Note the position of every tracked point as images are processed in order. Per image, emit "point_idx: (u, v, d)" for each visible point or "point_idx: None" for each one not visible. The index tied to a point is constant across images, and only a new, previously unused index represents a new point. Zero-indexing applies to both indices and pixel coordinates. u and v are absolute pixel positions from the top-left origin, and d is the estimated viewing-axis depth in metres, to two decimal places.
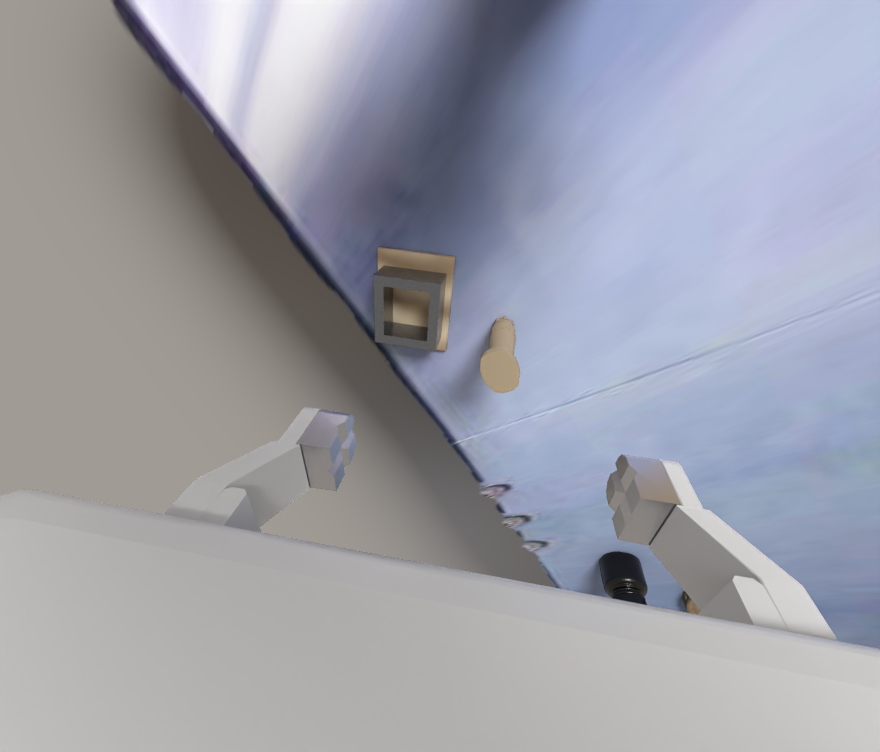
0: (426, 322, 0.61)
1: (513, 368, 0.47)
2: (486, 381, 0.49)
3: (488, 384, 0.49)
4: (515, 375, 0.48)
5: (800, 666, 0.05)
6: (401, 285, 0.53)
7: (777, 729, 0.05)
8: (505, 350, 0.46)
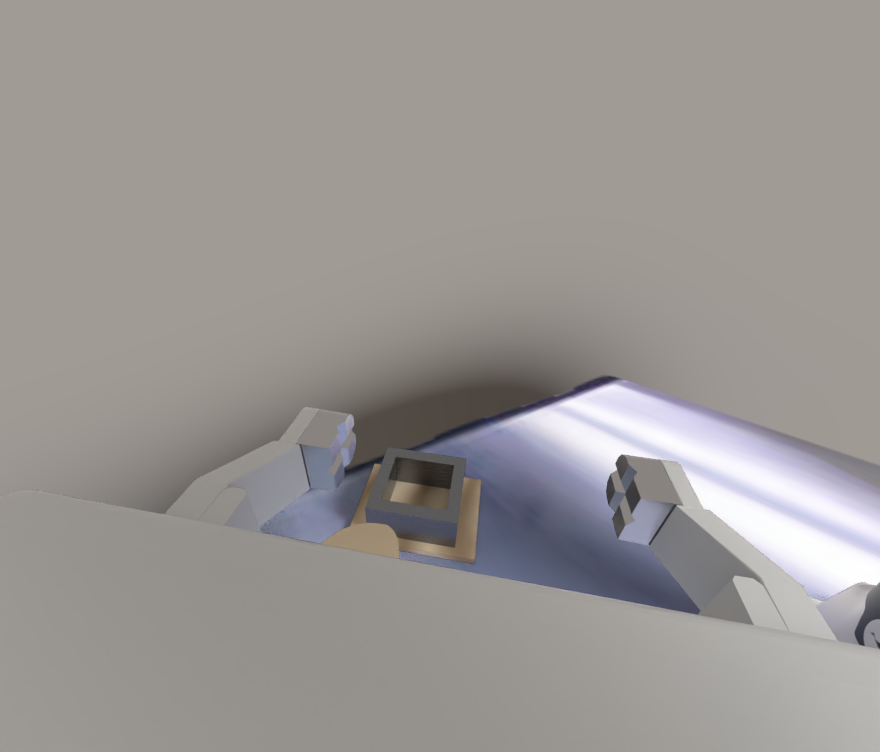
0: None
1: None
2: (344, 531, 0.31)
3: (338, 533, 0.30)
4: None
5: (800, 666, 0.05)
6: (455, 482, 0.47)
7: (777, 729, 0.05)
8: None
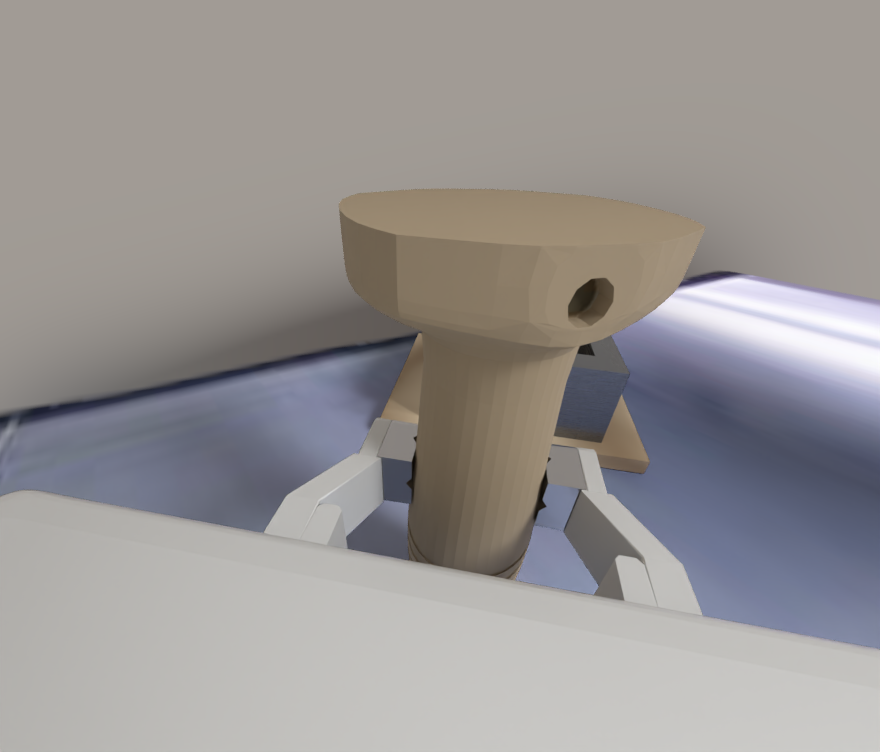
0: None
1: (582, 233, 0.05)
2: (440, 190, 0.08)
3: (418, 191, 0.08)
4: (518, 236, 0.05)
5: (800, 666, 0.05)
6: None
7: (777, 729, 0.05)
8: (692, 253, 0.06)
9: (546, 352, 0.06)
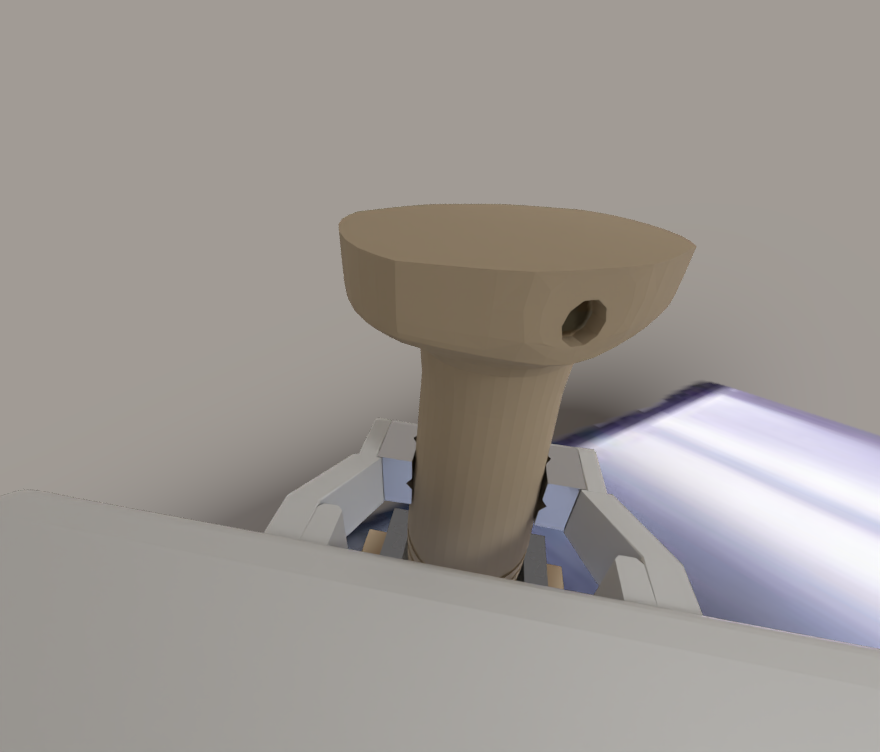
0: None
1: (575, 256, 0.05)
2: (438, 206, 0.08)
3: (416, 207, 0.08)
4: (512, 260, 0.05)
5: (800, 666, 0.05)
6: None
7: (777, 729, 0.05)
8: (683, 271, 0.07)
9: (541, 368, 0.07)
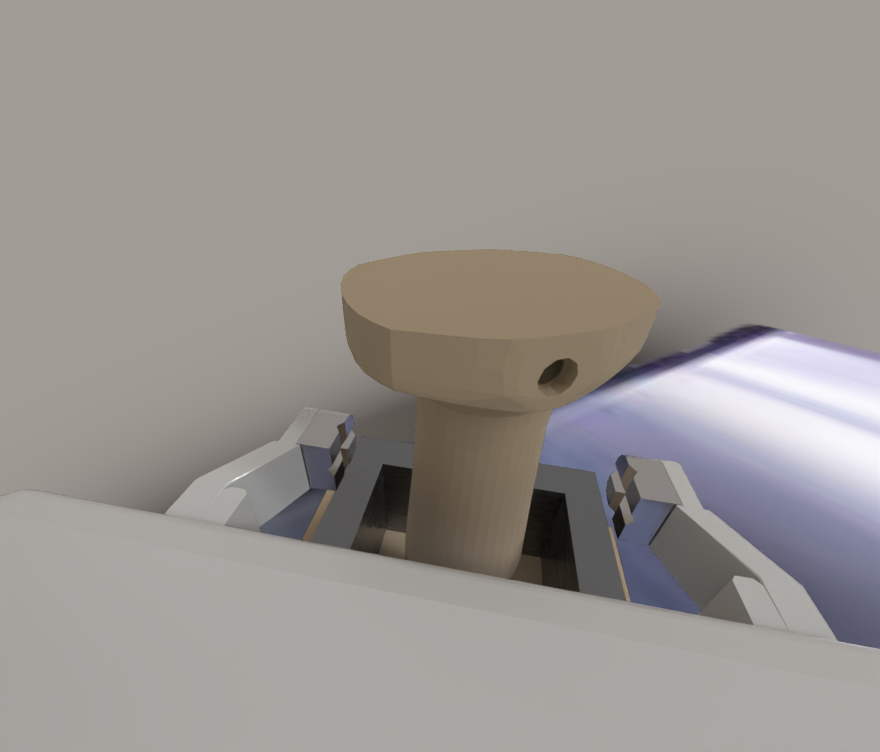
0: None
1: (549, 318, 0.06)
2: (431, 254, 0.09)
3: (411, 257, 0.09)
4: (494, 325, 0.06)
5: (800, 666, 0.05)
6: (588, 556, 0.13)
7: (777, 729, 0.05)
8: (651, 322, 0.07)
9: None
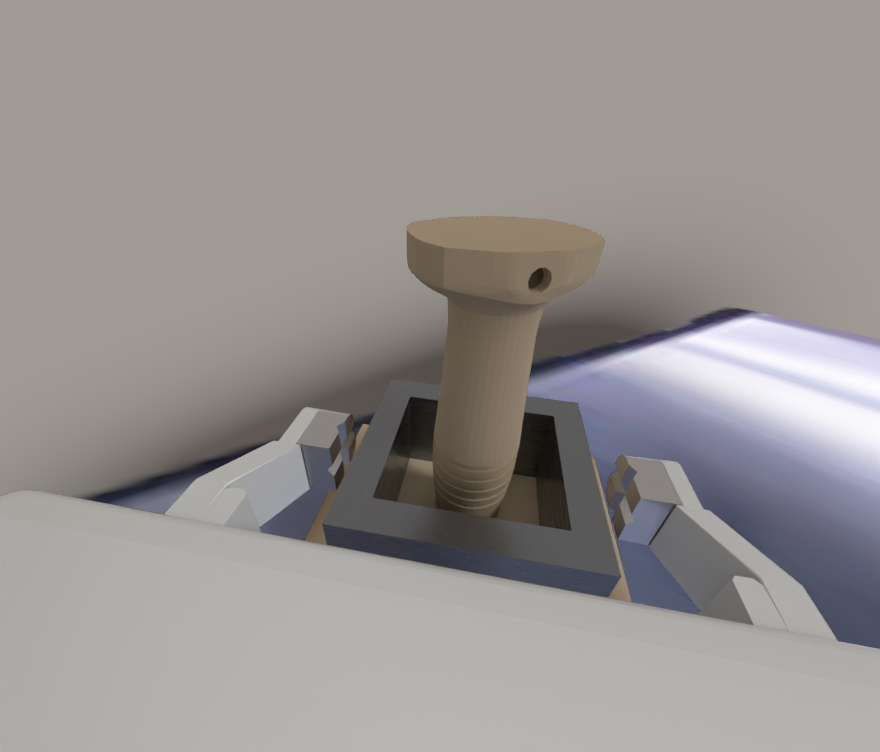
0: None
1: (534, 245, 0.11)
2: (458, 218, 0.13)
3: (445, 219, 0.13)
4: (502, 247, 0.10)
5: (800, 666, 0.05)
6: (570, 453, 0.18)
7: (777, 729, 0.05)
8: (600, 255, 0.12)
9: (520, 310, 0.12)
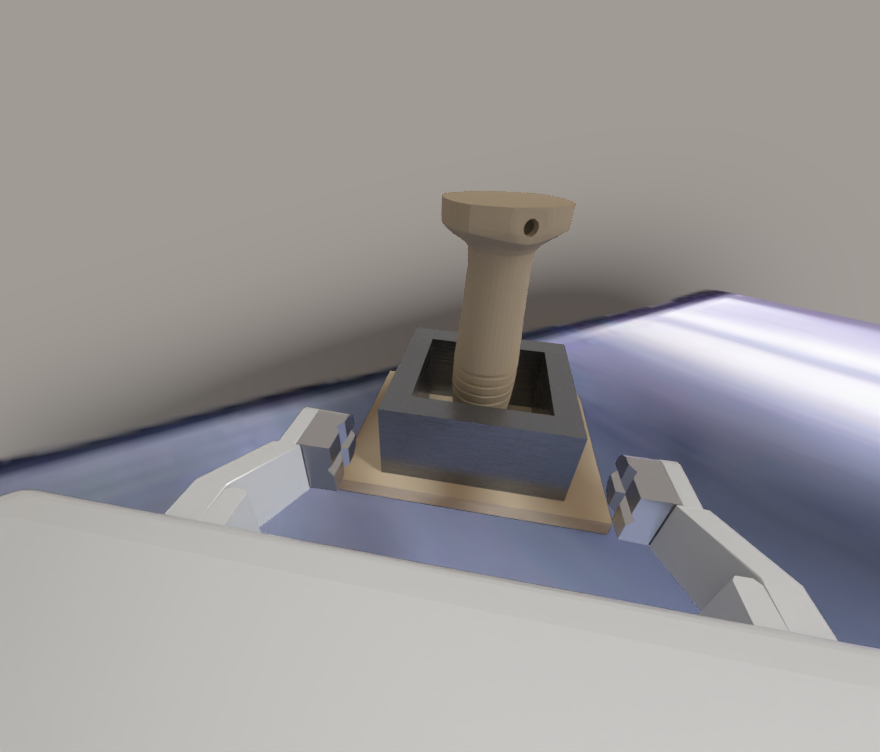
0: None
1: (528, 205, 0.16)
2: (475, 191, 0.19)
3: (467, 192, 0.19)
4: (507, 205, 0.16)
5: (800, 666, 0.05)
6: (556, 374, 0.23)
7: (777, 729, 0.05)
8: (572, 214, 0.17)
9: (518, 251, 0.17)
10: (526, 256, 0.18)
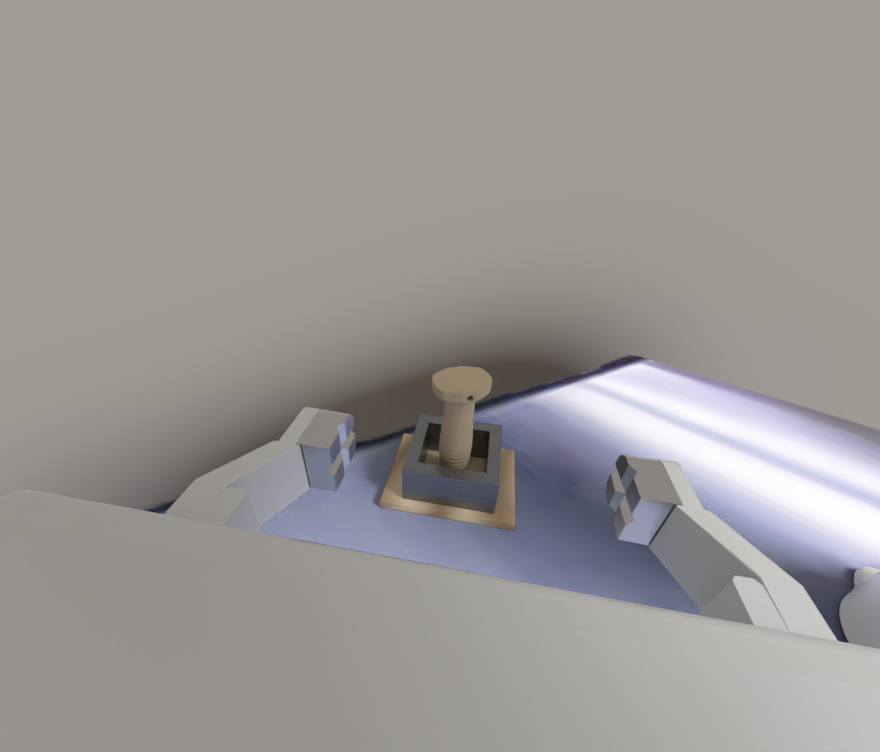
0: None
1: (468, 388, 0.38)
2: (448, 369, 0.41)
3: (444, 370, 0.40)
4: (459, 390, 0.37)
5: (800, 666, 0.05)
6: (493, 447, 0.45)
7: (777, 729, 0.05)
8: (490, 387, 0.39)
9: (466, 403, 0.39)
10: (470, 404, 0.39)
